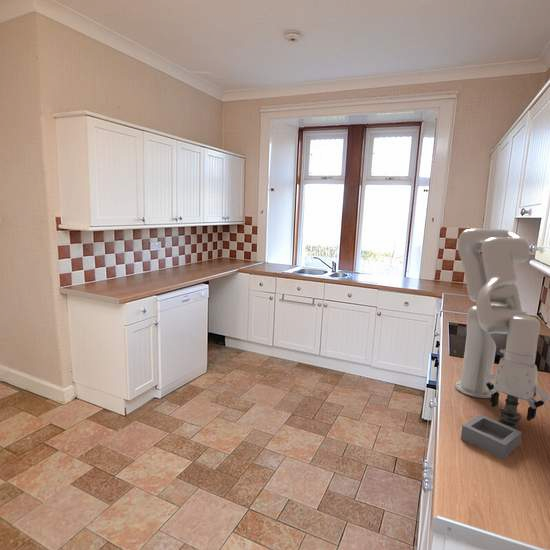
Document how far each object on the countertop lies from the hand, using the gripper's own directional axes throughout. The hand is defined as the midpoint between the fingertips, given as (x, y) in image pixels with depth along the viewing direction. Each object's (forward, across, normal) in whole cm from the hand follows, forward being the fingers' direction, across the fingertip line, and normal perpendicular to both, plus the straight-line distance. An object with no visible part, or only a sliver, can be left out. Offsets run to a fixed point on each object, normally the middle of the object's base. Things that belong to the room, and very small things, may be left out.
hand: (511, 412), depth 114 cm
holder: (+4, 0, -14) cm, 15 cm away
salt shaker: (+4, 0, 0) cm, 5 cm away
